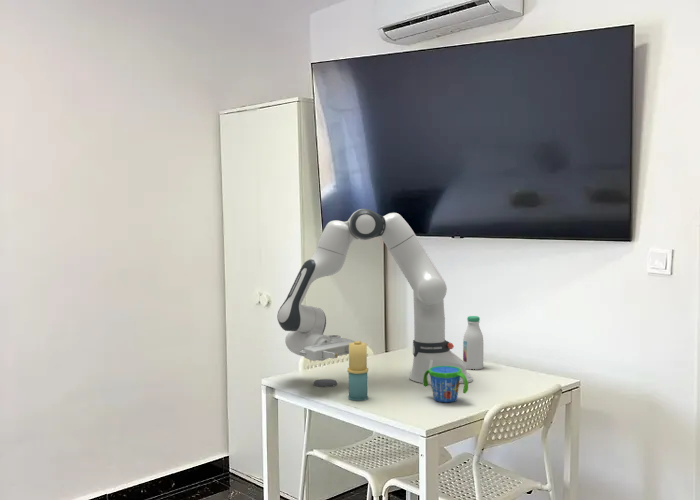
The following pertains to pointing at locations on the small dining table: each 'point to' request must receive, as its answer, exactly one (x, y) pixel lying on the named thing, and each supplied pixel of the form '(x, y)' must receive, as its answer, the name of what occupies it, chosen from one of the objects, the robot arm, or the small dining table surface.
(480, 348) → the milk bottle
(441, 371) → the snack cup
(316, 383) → the mat
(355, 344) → the tan cylinder
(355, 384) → the canister
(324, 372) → the small dining table surface
